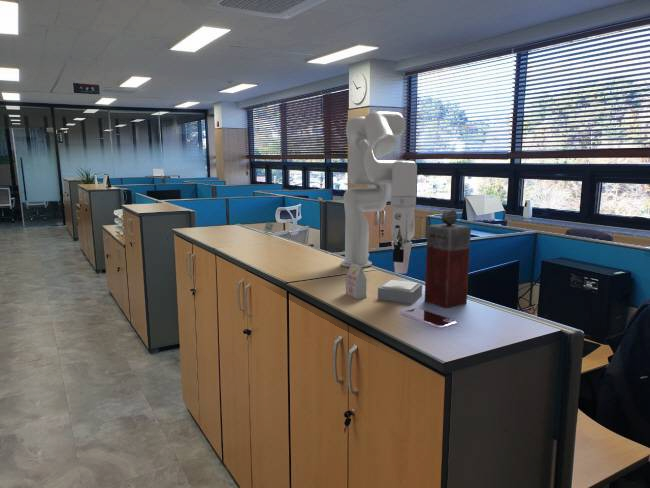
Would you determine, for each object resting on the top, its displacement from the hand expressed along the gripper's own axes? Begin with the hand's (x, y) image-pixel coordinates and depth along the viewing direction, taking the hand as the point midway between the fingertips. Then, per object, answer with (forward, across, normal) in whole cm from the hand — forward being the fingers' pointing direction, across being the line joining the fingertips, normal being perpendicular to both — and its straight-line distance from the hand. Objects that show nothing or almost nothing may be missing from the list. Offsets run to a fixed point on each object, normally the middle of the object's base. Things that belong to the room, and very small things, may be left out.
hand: (401, 259), depth 147 cm
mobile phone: (+13, -17, -13) cm, 25 cm away
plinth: (+12, 0, 0) cm, 12 cm away
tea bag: (+12, -5, +13) cm, 19 cm away
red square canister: (+12, +1, -13) cm, 18 cm away
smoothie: (+4, 0, 0) cm, 4 cm away
